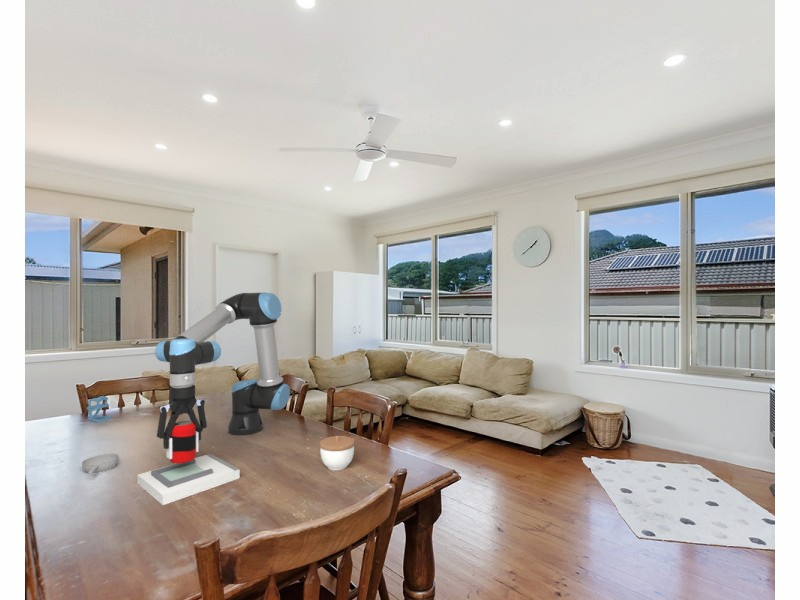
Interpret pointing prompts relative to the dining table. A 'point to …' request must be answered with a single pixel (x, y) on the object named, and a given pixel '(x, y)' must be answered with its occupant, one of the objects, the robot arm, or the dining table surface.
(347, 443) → the lidded bowl
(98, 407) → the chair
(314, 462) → the dining table surface
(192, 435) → the soda can
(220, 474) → the dock
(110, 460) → the saucepan
